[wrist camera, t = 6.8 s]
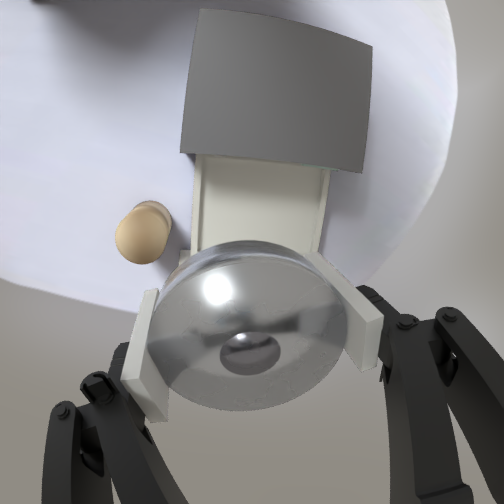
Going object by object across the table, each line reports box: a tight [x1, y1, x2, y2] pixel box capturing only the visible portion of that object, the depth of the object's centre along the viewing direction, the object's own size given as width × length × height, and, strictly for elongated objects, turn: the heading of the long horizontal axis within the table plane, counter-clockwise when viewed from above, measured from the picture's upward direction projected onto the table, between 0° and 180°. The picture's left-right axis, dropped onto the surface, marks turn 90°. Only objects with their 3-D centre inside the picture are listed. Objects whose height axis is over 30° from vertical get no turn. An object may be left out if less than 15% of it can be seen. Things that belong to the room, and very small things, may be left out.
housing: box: [180, 8, 372, 174], centre depth 24 cm, size 14×17×7 cm
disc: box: [147, 240, 347, 411], centre depth 11 cm, size 8×8×2 cm
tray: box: [179, 154, 331, 265], centre depth 29 cm, size 14×17×4 cm
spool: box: [115, 201, 172, 264], centre depth 27 cm, size 5×5×6 cm
